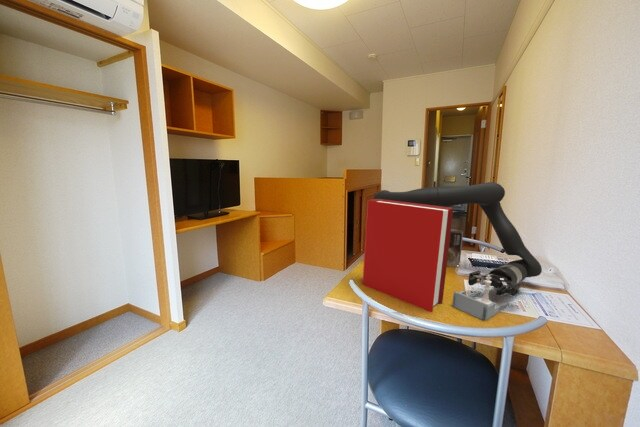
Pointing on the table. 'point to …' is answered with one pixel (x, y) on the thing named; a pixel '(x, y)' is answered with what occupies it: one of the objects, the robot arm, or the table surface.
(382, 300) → the table surface
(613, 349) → the table surface
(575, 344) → the table surface
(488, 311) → the chute
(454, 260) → the coffee box
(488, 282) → the chess piece
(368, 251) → the book
